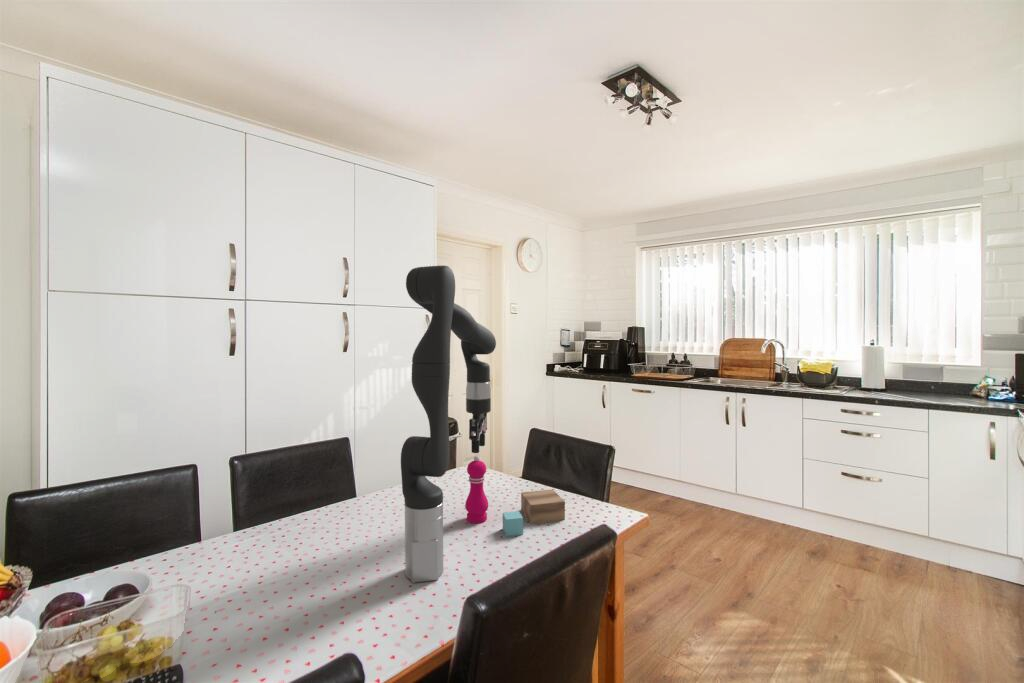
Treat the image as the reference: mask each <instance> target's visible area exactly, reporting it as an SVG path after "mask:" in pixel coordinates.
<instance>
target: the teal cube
mask: <svg viewBox="0 0 1024 683" xmlns="http://www.w3.org/2000/svg"><path fill="white" fill-rule="evenodd" d="M502 530H504V531H503V532H504V535H505V537H512V536H514V537H515V536H523V535H524V517H523V515H522V514H521V512H520V511H519V510H517V511H508V512H502Z"/></svg>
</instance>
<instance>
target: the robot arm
mask: <svg viewBox="0 0 1024 683" xmlns="http://www.w3.org/2000/svg"><path fill="white" fill-rule="evenodd" d="M455 278H456V277H455V274H454V272H453V270H452V268H451V267H449V266H448V265H427V266H418V267H415V268H412V269H411V270H409V272H408V273H407V275H406V278H405V279H406V280H405V288H406V291H407V294H408V296H409V298H410V299H411V300H412V301H413V302H414V303H416V304H417V305H419V306H420V307H422V308H424V310H426V311H427V312H429V313H430V314H431V319H430V323H429V324H428V327H427V328H426V331H425V332H424V334H423V336H422V337H421V339H420V340H419V342H418V344H417V346H416V347H415V349H414V352H413V354H412V358H411V386H412V388H413V391H414V392H415V394H416V397H417V398H418V400H419V402H420V404H421V405H422V407H423V409H424V411H425V413H426V415H427V419H428V423H429V425H428V426H429V432H430V433H429V436H418V435H417V436H416V435H414V436H412V435H411V436H409V437H407V439H405V441H404V442H403V444H402V448H401V450H400V451H401V452H400V470H401V471H400V472H401V490H402V495H403V498H404V560H405V562H404V563H405V564H404V566H405V576H406V577H407V579H409V580H411V583H413V584H415V583H423V582H429V581H430V582H431V581H438V580H439V577H440V576H441V575H442V574H443V573H444V492H443V490H442V488H440V486H438V485H436V484H435V483H433V482H432V481H430V479H428V478H429V477H431V478H440V477H443V476H444V475H445V474H446V472H447V470H448V468H449V464H450V450H451V445H450V426H449V423H450V422H449V390H450V378H451V377H450V374H451V335H452V334H451V332H452V333H453V334H455V336H456V337H457V338H458V339H459V340H460V347H461V350H462V355H463V358H464V359H463V360H464V362H465V366H466V387H465V388H466V389H465V392H466V393H465V411H466V413H469V414H472V418H469V420H468V422H469V428H468V429H469V431H468V435H469V437H468V438H469V440H470V441H471V453H472V454H479V453H480V447H485V445H486V433H487V430H488V417H487V416H488V415H487V414H488V413H490V412H492V411H491V410H492V409H491V407H492V403H491V402H492V399H491V398H492V395H491V394H492V393H491V392H492V390H491V379H490V378H491V368H490V365H489V363H487V362H484V361H482V360H479V359H478V356H477V355H490V354H492V353H494V351H495V349H496V347H497V340H496V337H495V335H494V333H493V331H492V332H491V331H490V329H489V328H486V326H484V325H482V324H480V323H478V322H477V321H476V319H475V317H473V315H472V314H471V313H470V312H469V311H468V310H467V309H466V308H464V307H462V306H461V305H459V304H457V303H455V296H456V295H455V294H456V279H455ZM474 434H475V435H474ZM427 477H428V478H427Z"/></svg>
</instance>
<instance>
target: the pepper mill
mask: <svg viewBox="0 0 1024 683" xmlns="http://www.w3.org/2000/svg"><path fill="white" fill-rule="evenodd" d="M466 472H467V474H468V482H469V484H470V486H469V487H470V490H469V493H468V496H467V497H466V500H465V506H464V508H465V510H466V512H467V513H466V521H467V522H469V523H470V524H482V523H484V522H487V520H488V514H487V513H488V512H487V510H488V509H489V500H488V498H487V495H486V493H485V491H484V482H485V480H486V479H485V478H486V476H485V474H486V473H487V465H486V464H485V462H483V461H482V460H480V457H479V455H475V456H474V457H473V460H472V461H471V462H469V463H468V465H467V466H466Z"/></svg>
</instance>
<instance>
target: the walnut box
mask: <svg viewBox="0 0 1024 683" xmlns="http://www.w3.org/2000/svg"><path fill="white" fill-rule="evenodd" d="M520 494H521V495H520V498H521V499H520V505H521V506H520V510H521V512H522V511H523V512H522V513H523V514H524V516H525V515H526V516H525V517H526V518H528V519H527V521H529V523H530V524H540V523H547V522H548V523H549V522H556V521H564V520H565V518H566V501H565V499H563V498H562V497H561V496H560V495H559V494H558V492H556V491H555V490H554V489H544V490H543V489H542V490H533V491H523V492H520Z"/></svg>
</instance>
